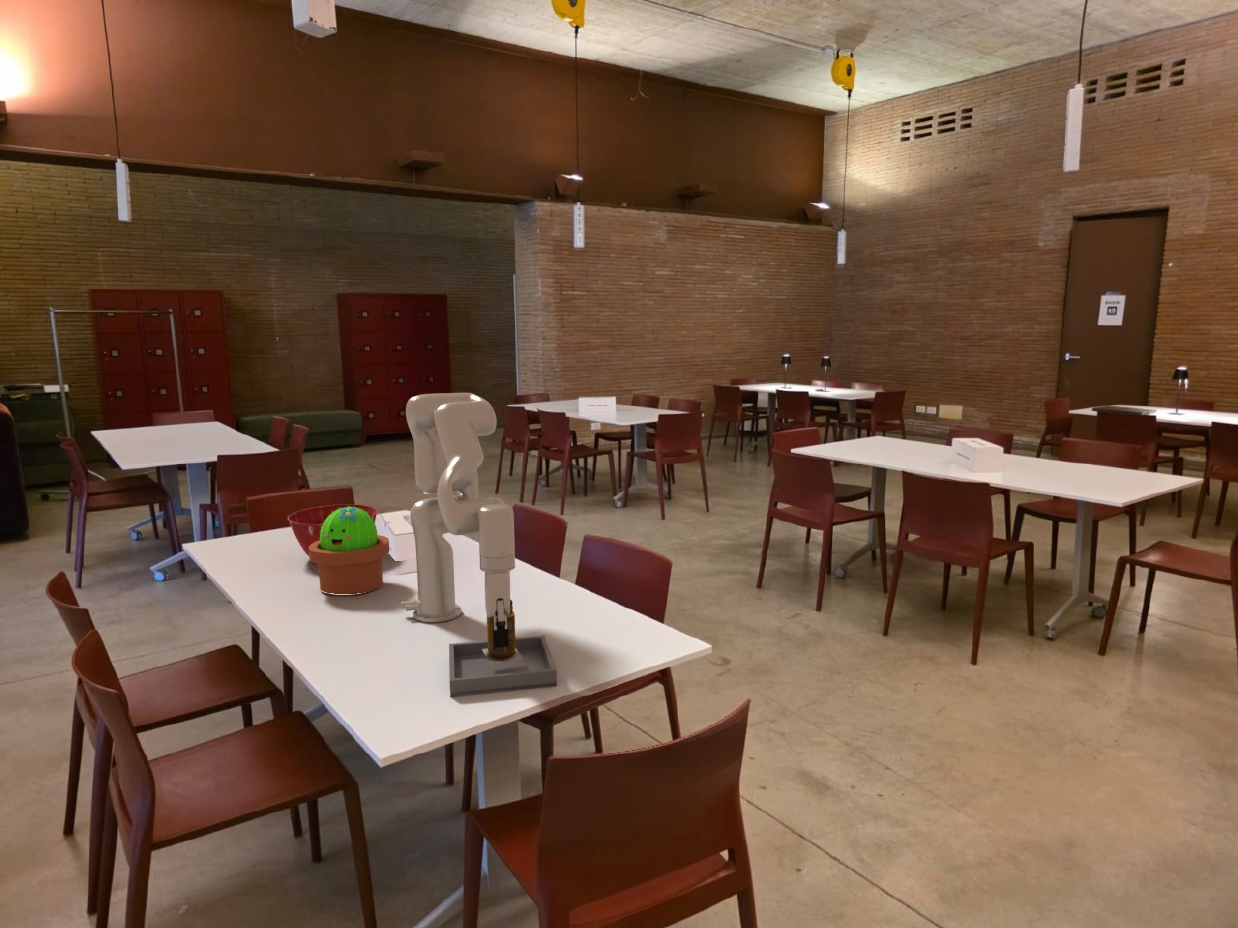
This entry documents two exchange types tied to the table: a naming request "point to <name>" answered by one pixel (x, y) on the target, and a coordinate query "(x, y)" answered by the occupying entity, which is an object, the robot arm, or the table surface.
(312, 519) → the mixing bowl
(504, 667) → the tray
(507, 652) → the condiment
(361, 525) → the potted cactus
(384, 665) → the table surface
